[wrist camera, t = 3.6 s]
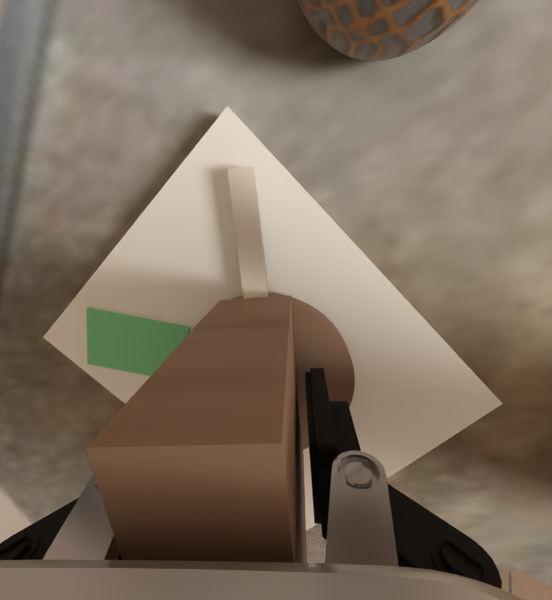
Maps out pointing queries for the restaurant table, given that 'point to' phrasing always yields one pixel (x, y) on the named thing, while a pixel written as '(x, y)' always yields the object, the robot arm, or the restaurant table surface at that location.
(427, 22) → the vase
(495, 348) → the restaurant table surface
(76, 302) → the dial board
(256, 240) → the dial knob
